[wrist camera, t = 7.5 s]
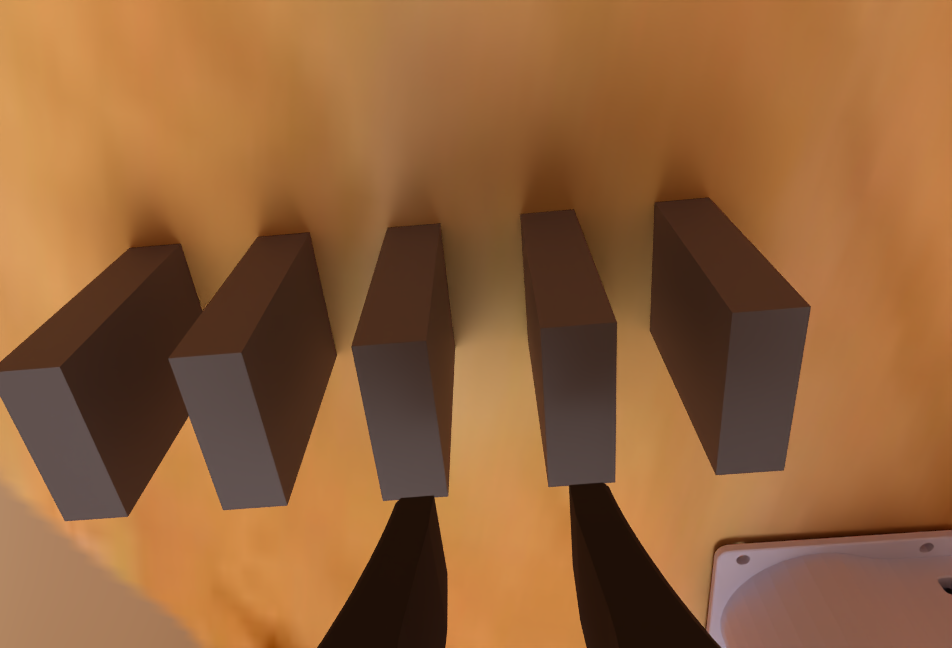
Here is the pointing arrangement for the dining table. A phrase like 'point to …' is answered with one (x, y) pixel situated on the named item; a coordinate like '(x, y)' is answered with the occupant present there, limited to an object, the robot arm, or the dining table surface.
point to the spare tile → (408, 364)
